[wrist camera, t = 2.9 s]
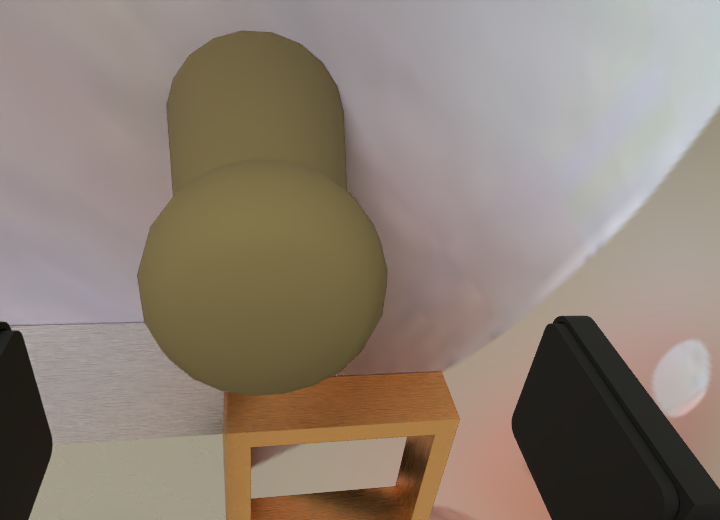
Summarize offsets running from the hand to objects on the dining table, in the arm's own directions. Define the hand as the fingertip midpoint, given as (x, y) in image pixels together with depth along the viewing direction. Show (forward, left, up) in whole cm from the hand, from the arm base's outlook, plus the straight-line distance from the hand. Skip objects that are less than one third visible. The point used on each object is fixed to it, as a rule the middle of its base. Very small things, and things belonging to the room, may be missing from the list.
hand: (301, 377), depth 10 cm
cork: (0, -1, -12) cm, 12 cm away
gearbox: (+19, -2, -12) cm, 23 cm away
